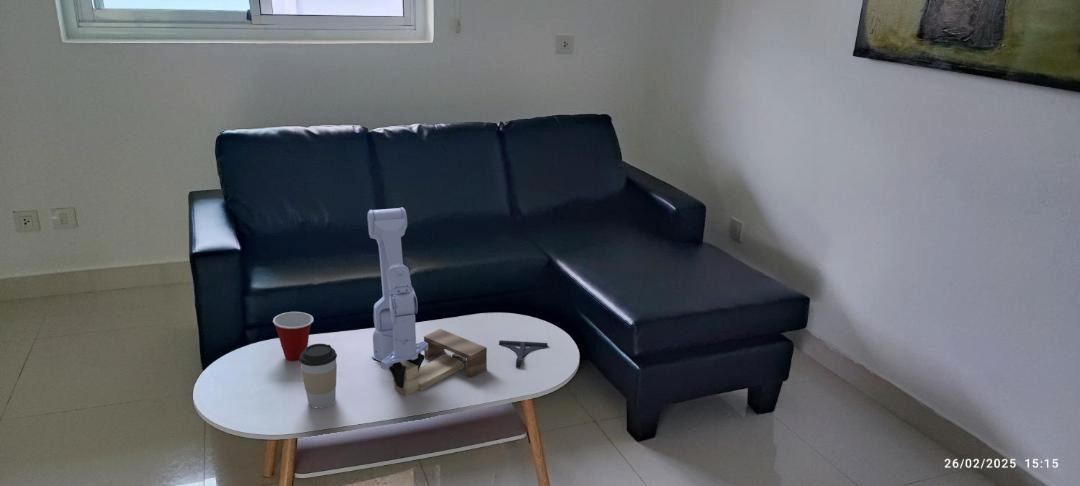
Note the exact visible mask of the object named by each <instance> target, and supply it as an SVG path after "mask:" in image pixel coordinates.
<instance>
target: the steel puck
mask: <svg viewBox="0 0 1080 486" xmlns="http://www.w3.org/2000/svg"><path fill="white" fill-rule="evenodd" d="M451 357H453V358H455V359H457V360H460V361H462V362H463V365H464V364H467V358H465V357H462V356H460V355H458V354H455V353H452V354H451Z"/></svg>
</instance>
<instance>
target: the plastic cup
mask: <svg viewBox="0 0 1080 486" xmlns="http://www.w3.org/2000/svg"><path fill="white" fill-rule="evenodd" d="M272 323H273V324H274V326H275V328H276V329H275V330H276V332H277V336H278V340H279V342H280V346H281V350H282V351H283V355H284V358H285V360H287V361H290V362H298V360H299V358H300V355H301V353H302V352H303V351H304V350H305V348H306V347H308V346H309V339H310V338H309V337H310V331H311V325H312V324H313V323H314V317H313V315H311V314H309V313H306V312H301V311H289V312H283V313H280V314H278V315H276V316H274V317H273V320H272Z"/></svg>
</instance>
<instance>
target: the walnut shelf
mask: <svg viewBox="0 0 1080 486" xmlns="http://www.w3.org/2000/svg"><path fill="white" fill-rule="evenodd" d="M423 341H424V342H426V343H428V350H427V351H424V350H423V353H424V354H423V355H424V359H427V360H429V359H432V358H433V357H436V356H438V355H440V354H442V353H444V352H445V350H446V351H449V352H450V353H452V354H454V353H455V354H458V355H460V356H462V357H465V358H466V377H468V378H470V379H471V378H473V377H475V376H477V375H479V374H480V373H482V372H484V371H486V370H487V367H488V363H487V361H488V360H487V359H488V358H487V353H488V351H487V349H488V348H487V347H486V346H483V345H481V344H479V343H476V342H474V341H471V340H469V339H466V338H464V337H462V336H459V335H456V334H454V333H451V332H449V331H447V330H444V329H441V328H439V329H436V330H435V331H433V332H430V333H428V334H425V335H424V336H423Z"/></svg>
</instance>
